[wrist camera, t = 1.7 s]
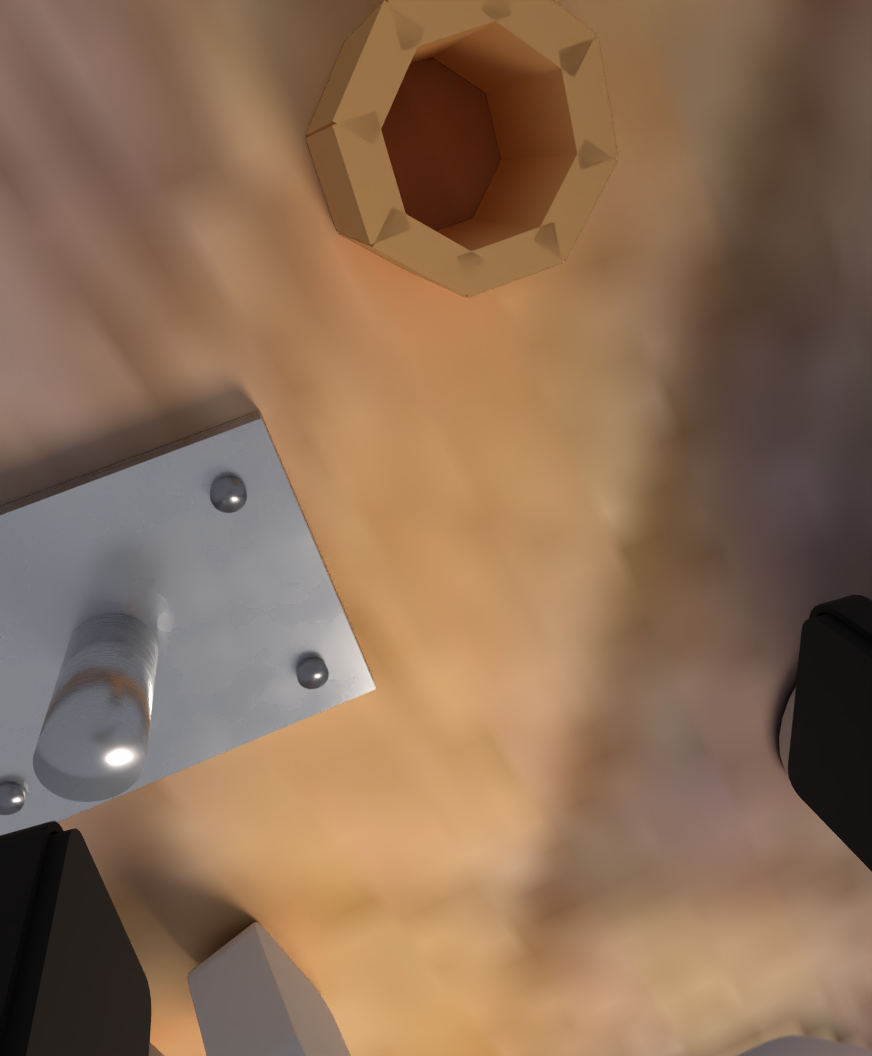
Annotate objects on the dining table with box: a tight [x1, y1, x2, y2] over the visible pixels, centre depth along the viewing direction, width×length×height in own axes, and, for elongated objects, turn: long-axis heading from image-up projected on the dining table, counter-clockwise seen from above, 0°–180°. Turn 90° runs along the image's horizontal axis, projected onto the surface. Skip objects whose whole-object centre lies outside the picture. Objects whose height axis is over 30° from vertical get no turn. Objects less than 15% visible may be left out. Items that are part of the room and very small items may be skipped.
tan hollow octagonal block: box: [306, 0, 618, 298], centre depth 22 cm, size 7×7×6 cm
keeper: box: [0, 411, 376, 835], centre depth 25 cm, size 16×12×7 cm
